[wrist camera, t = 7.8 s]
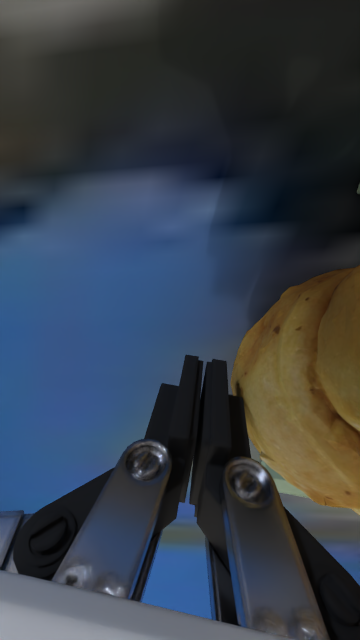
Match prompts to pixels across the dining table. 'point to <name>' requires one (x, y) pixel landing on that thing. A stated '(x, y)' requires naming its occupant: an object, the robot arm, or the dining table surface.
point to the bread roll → (307, 387)
